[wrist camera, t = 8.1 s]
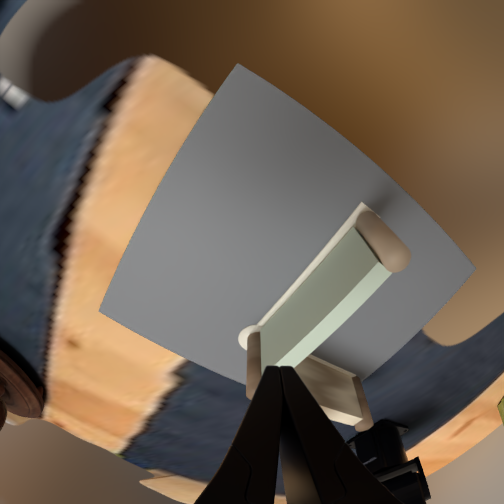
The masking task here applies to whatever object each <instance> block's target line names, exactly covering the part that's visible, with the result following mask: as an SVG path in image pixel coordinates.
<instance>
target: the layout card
mask: <svg viewBox="0 0 504 504" xmlns="http://www.w3.org/2000/svg"><path fill="white" fill-rule="evenodd" d="M365 211H372V212H374V213H375V214H376V215H377V216H378V217H379V218H380V219H381V220H382V221H383V222H384V223H385V224H386V225H387V226H388V227H389V228H390V229H391V230H392V231H393V232H394V233H395V234H396V235H397V236H398V237H399V239H400V240H401V241H402V242H403V243H404V244H405V245H406V246H407V247H408V248H409V250H410V252H411V260H410V262H409V264H408V266H407V267H406V268H405V269H403V270H402V271H400V272H396V273H392V274H391V275H390V276H389V277H388V278H387V279H386V280H385V281H384V282H383V283H382V285H381V286H380V287H379V288H378V289H377V290H376V291H375V292H374V293H373V294H372V295H371V296H370V297H369V298H368V299H367V300H366V301H365V302H364V303H363V304H362V305H361V306H360V307H359V308H358V309H357V310H356V311H355V312H354V313H353V314H352V315H351V316H350V317H349V318H348V319H347V320H346V321H345V322H344V323H343V324H342V325H341V326H340V327H339V328H338V329H337V330H335V331H334V332H333V333H332V334H331V335H330V336H329V337H328V338H327V339H326V340H325V341H324V342H323V343H321V344H320V345H319V346H318V347H317V348H316V349H315V350H314V351H313V352H311V353H310V354H309V355H308V356H307V357H309V358H311V359H313V360H316V361H318V362H320V363H322V364H324V365H327V366H329V367H331V368H333V369H336V370H338V371H340V372H343V373H345V374H347V375H349V376H351V377H355V376H358V377H359V378H360V381H361V382H362V381H363V380H364V379H366V378H367V377H368V376H369V375H371V374H372V373H373V372H374V371H375V370H377V369H378V368H379V367H380V366H381V365H382V364H384V363H385V362H386V361H387V360H388V359H389V358H390V357H392V356H393V355H394V354H395V353H396V352H397V351H398V350H399V349H400V348H402V347H403V346H404V345H405V344H406V343H407V342H408V341H409V340H410V339H411V338H412V337H413V336H414V335H415V334H416V333H417V332H418V331H420V330H421V329H422V328H423V327H424V325H426V323H428V322H429V321H430V320H431V319H432V318H433V316H434V315H435V314H436V313H437V312H438V311H439V310H440V309H441V308H442V307H443V306H444V305H445V304H446V303H447V302H448V301H449V300H450V298H451V297H452V296H453V295H454V294H455V293H456V292H457V291H458V289H459V288H460V287H461V286H462V285H463V284H464V283H465V282H466V280H467V279H468V278H469V277H470V276H471V274H472V273H473V272H474V271H475V270H476V267H475V266H474V265H473V264H472V262H471V261H470V260H469V259H468V258H467V256H466V255H465V254H464V253H463V252H462V251H461V250H460V248H459V247H458V246H457V245H456V244H455V243H454V241H453V240H452V239H451V238H450V237H449V236H448V235H447V233H446V232H445V231H444V230H443V229H442V228H441V227H440V226H439V225H438V224H437V223H436V222H435V221H434V220H433V218H432V217H431V216H430V215H429V214H428V213H427V212H426V211H425V210H424V209H423V208H422V207H421V206H420V205H419V204H418V203H417V202H416V201H415V200H414V199H413V198H412V197H411V196H410V195H409V194H408V193H407V192H406V191H405V190H404V189H403V188H402V187H400V185H399V184H397V183H396V182H395V181H394V180H393V179H392V178H391V177H390V176H389V175H388V174H387V173H386V172H384V171H383V170H382V169H381V168H380V167H379V166H378V165H376V163H374V162H373V161H372V160H371V159H370V158H369V157H367V156H366V155H365V154H364V153H363V152H362V151H360V150H359V149H358V148H357V147H356V146H354V145H353V144H352V143H351V142H350V141H348V140H347V139H346V138H345V137H343V136H342V135H341V134H340V133H338V132H337V131H336V130H335V129H333V128H332V127H331V126H329V125H328V124H327V123H326V122H324V121H323V120H321V119H320V118H319V117H318V116H316V115H315V114H314V113H312V112H311V111H310V110H308V109H307V108H305V107H304V106H303V105H301V104H300V103H298V102H297V101H296V100H294V99H293V98H291V97H290V96H288V95H287V94H285V93H284V92H283V91H281V90H280V89H278V88H276V87H275V86H274V85H272V84H270V83H269V82H267V81H266V80H264V79H263V78H261V77H260V76H258V75H256V74H255V73H253V72H251V71H250V70H248V69H247V68H245V67H243V66H242V65H240V64H238V63H237V65H236V66H235V67H234V69H233V70H232V72H231V73H230V74H229V76H228V77H227V78H226V80H225V81H224V83H223V84H222V85H221V87H220V88H219V90H218V91H217V93H216V94H215V96H214V97H213V99H212V100H211V101H210V103H209V104H208V106H207V107H206V109H205V110H204V112H203V113H202V115H201V117H200V118H199V120H198V121H197V123H196V124H195V126H194V127H193V129H192V131H191V132H190V134H189V135H188V137H187V139H186V140H185V142H184V143H183V145H182V147H181V148H180V150H179V152H178V153H177V155H176V157H175V158H174V160H173V162H172V164H171V165H170V167H169V169H168V170H167V172H166V174H165V176H164V177H163V179H162V181H161V183H160V185H159V186H158V188H157V190H156V192H155V194H154V195H153V197H152V199H151V201H150V203H149V205H148V207H147V209H146V210H145V212H144V214H143V216H142V218H141V220H140V222H139V224H138V226H137V228H136V230H135V232H134V234H133V236H132V238H131V240H130V242H129V244H128V246H127V248H126V250H125V252H124V254H123V257H122V259H121V261H120V263H119V265H118V267H117V270H116V272H115V274H114V276H113V278H112V281H111V283H110V285H109V288H108V290H107V292H106V294H105V297H104V299H103V302H102V304H101V306H100V309H99V312H101V313H102V314H104V315H106V316H107V317H109V318H111V319H112V320H114V321H116V322H118V323H119V324H121V325H123V326H125V327H126V328H128V329H130V330H132V331H134V332H135V333H137V334H139V335H141V336H143V337H145V338H147V339H148V340H150V341H152V342H154V343H156V344H158V345H160V346H162V347H164V348H166V349H168V350H170V351H172V352H174V353H176V354H178V355H180V356H182V357H184V358H186V359H188V360H190V361H192V362H195V363H197V364H199V365H201V366H203V367H205V368H208V369H210V370H212V371H214V372H216V373H219V374H221V375H223V376H226V377H228V378H230V379H233V380H235V381H237V382H240V383H242V384H245V385H246V376H247V338H248V336H249V335H250V334H251V333H254V332H260V329H261V328H262V327H263V326H264V325H265V324H266V323H267V322H268V321H269V320H270V319H271V318H272V317H273V316H274V314H275V313H276V312H277V311H278V310H279V309H280V308H281V307H282V306H283V305H284V304H285V303H286V302H287V301H288V300H289V298H290V297H291V296H292V295H293V294H294V293H295V292H296V291H297V290H298V289H299V288H300V286H301V285H302V284H303V283H304V282H305V281H306V280H307V279H308V278H309V277H310V275H311V274H312V273H313V272H314V271H315V270H316V269H317V268H318V267H319V265H320V264H321V263H322V262H323V261H324V260H325V259H326V257H327V256H328V255H329V254H330V253H331V252H332V251H333V249H334V248H335V247H336V246H337V245H338V244H339V243H340V241H341V240H342V239H343V238H344V237H345V236H346V234H347V233H348V232H349V231H350V230H351V229H352V227H354V228H356V229H357V227H356V220H357V218H358V216H359V215H360V214H361V213H362V212H365ZM357 230H358V229H357Z"/></svg>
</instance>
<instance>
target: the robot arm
mask: <svg viewBox="0 0 504 504" xmlns="http://www.w3.org/2000/svg"><path fill="white" fill-rule="evenodd" d="M408 430H409V428H408V427H407V426H403V425H399V424H395V423H392V422H388V421H385V420H382V421H380V422H378V423H377V424H375V425H374V426H372V427H371V428H370V429H368V430H366V431H365V432H363V433H361V434H360V435H358V436H357V437H355V438H354V439H352V440H350V441H349V442H347V443H345V440H344V439H343V437H342V436H341V434H340V433H339V432H338V430H337V429H336V428H335V426H334V425H333V423H332V422H331V421H330V419H329V418H328V416H327V415H326V414H325V412H324V411H323V409H322V408H321V406H320V405H319V404H318V402H317V401H316V399H315V398H314V397H313V395H312V394H311V392H310V391H309V389H308V388H307V386H306V385H305V384H304V382H303V381H302V379H301V378H300V376H299V375H298V374H297V372H296V371H295V369H294V368H293V367H292V366H280V367H279V366H276V365H267V366H266V367H265V369H264V372H263V374H262V376H261V379H260V381H259V383H258V386H257V388H256V390H255V393H254V395H253V397H252V399H251V402H250V404H249V406H248V409H247V411H246V413H245V415H244V417H243V420H242V422H241V424H240V426H239V428H238V431H237V433H236V435H235V437H234V439H233V441H232V444H231V446H230V448H229V450H228V452H227V454H226V456H225V458H224V460H223V462H222V463H221V465H220V467H219V469H218V470H217V472H216V473H215V475H214V476H213V478H212V480H211V481H210V482H209V484H208V485H207V486H206V488H205V489H204V491H203V492H202V493H201V495H200V496H199V497H198V499H197V500H196V501H195V503H194V504H274V498H275V488H276V478H277V468H278V457H279V452H280V459H281V466H282V473H283V480H284V487H285V494H286V501H287V504H426V502H425V501H426V500H428V499H431V496H430V492H429V488H428V485H427V481H426V478H425V475H424V472H423V469H422V466H421V463H420V460H419V457H416V458H414V459H413V460H410V461H408V459H407V456H406V452H405V449H404V446H403V443H402V440H401V437H400V436H401V435H403V434H404V433H406V432H407V431H408ZM351 448H353V449H356V453H357V456H356V455H355V453H354V452H353V451H352V450H351ZM417 471H418V473H417Z"/></svg>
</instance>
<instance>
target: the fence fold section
mask: <svg viewBox="0 0 504 504" xmlns="http://www.w3.org/2000/svg"><path fill="white" fill-rule="evenodd" d="M356 227H357V229H358V230H357V229H356V228H354V227H352V229H351V230H350V231H349V232H348V233H347V234H346V236H345V237H344V238H343V239H342V240H341V241H340V243H339V244H338V245H337V246H336V247H335V248H334V249H333V251H332V252H331V253H330V254H329V255H328V256H327V257H326V259H325V260H324V261H323V262H322V263H321V264H320V265H319V267H318V268H317V269H316V270H315V271H314V272H313V273H312V274H311V275H310V277H309V278H308V279H307V280H306V281H305V282H304V283H303V284H302V285H301V286H300V288H299V289H298V290H297V291H296V292H295V293H294V294H293V295H292V296H291V297H290V298H289V300H288V301H287V302H286V303H285V304H284V305H283V306H282V307H281V308H280V309H279V310H278V311H277V312H276V313H275V314H274V316H273V317H272V318H271V319H270V320H269V321H268V322H267V323H266V324H265V325H264V326H263V327H262V328H261V329H260V337H261V372H262V374H263V372H264V369H265V367H266V366H267V365H276V366H279V367H280V366H292V367H293V368H294V367H296V366H297V365H298V364H299V363H300V362H301V361H302V360H304V359H305V358H306V357H307V356H308V355H309V354H310V353H311V352H313V351H314V350H315V349H316V348H317V347H318V346H319V345H320V344H321V343H323V342H324V341H325V340H326V339H327V338H328V337H329V336H330V335H331V334H332V333H333V332H334V331H335V330H337V329H338V328H339V327H340V326H341V325H342V324H343V323H344V322H345V321H346V320H347V319H348V318H349V317H350V316H351V315H352V314H353V313H354V312H355V311H356V310H357V309H358V308H359V307H360V306H361V305H362V304H363V303H364V302H365V301H366V300H367V299H368V298H369V297H370V296H371V295H372V294H373V293H374V292H375V291H376V290H377V289H378V288H379V287H380V286H381V285H382V283H383V282H384V281H385V280H386V279H387V278H388V277H389V276H390V275H391V274H392V273H396V272H400V271H402V270H403V269H405V268H406V267H407V266H408V264H409V262H410V260H411V252H410V250H409V248H408V247H407V246H406V245H405V244H404V243H403V242H402V241H401V240H400V239H399V237H398V236H397V235H396V234H395V233H394V232H393V231H392V230H391V229H390V228H389V227H388V226H387V225H386V224H385V223H384V222H383V221H382V220H381V219H380V218H379V217H378V216H377V215H376V214H375V213H374V212H372V211H365V212H362V213H361V214H360V215H359V216H358V218H357V220H356Z"/></svg>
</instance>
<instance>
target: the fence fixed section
mask: <svg viewBox="0 0 504 504" xmlns="http://www.w3.org/2000/svg"><path fill="white" fill-rule="evenodd" d="M294 369H295V371H296V372H297V374H298V375H299V376H300V378H301V379H302V381H303V382H304V384H305V385H306V386H307V388H308V389H309V391H310V392H311V394H312V395H313V397H314V398H315V399H316V401H317V402H318V404H319V405H320V406H321V408H322V409H323V411H324V412H325V414H326V415H327V416H328V418H329V419H331V420H334V421H337V422H341V423H344V424H348V425H352V426H353V425H355V429H356V431H365V430H368V429H370V428H371V427H372V426H373V420H372V417H371V413H370V410H369V407H368V403H367V400H366V397H365V394H364V390H363V387H362V384H361V381H360V378H359V377H358V376H355V377H351V376H349V375H347V374H345V373H343V372H340V371H338V370H336V369H333V368H331V367H329V366H327V365H324V364H322V363H320V362H318V361H316V360H313V359H311V358H309V357H306V358H305V359H304V360H302V361H301V362H300V363H299V364H298V365H297V366H296V367H294ZM261 376H262V372H261V337H260V332H254V333H251V334H250V335H249V336H248V338H247V376H246V396H247V397H248V398H249V399H252V397H253V395H254V393H255V390H256V388H257V386H258V383H259V381H260V379H261Z"/></svg>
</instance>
